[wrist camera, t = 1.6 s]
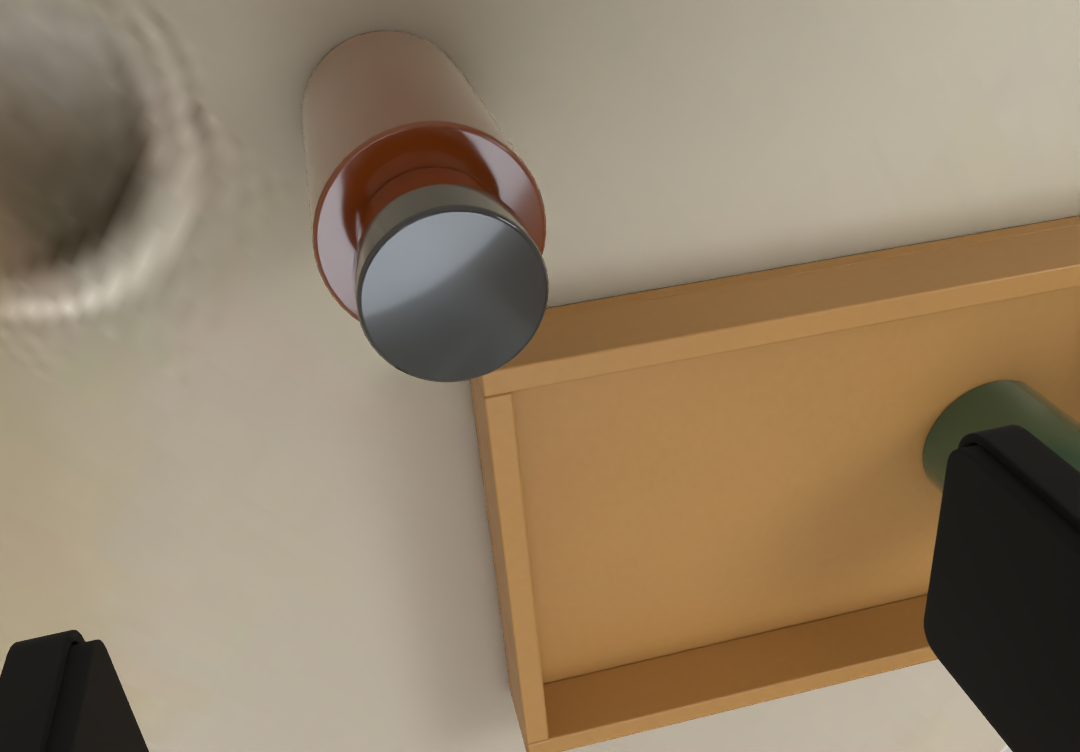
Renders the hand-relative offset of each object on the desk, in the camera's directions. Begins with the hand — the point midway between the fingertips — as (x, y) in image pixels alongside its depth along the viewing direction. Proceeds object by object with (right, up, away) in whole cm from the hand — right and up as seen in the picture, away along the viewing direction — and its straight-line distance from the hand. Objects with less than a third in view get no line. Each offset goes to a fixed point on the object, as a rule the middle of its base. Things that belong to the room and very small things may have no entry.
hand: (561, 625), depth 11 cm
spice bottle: (-4, +9, +15) cm, 18 cm away
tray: (+9, 0, +24) cm, 26 cm away
